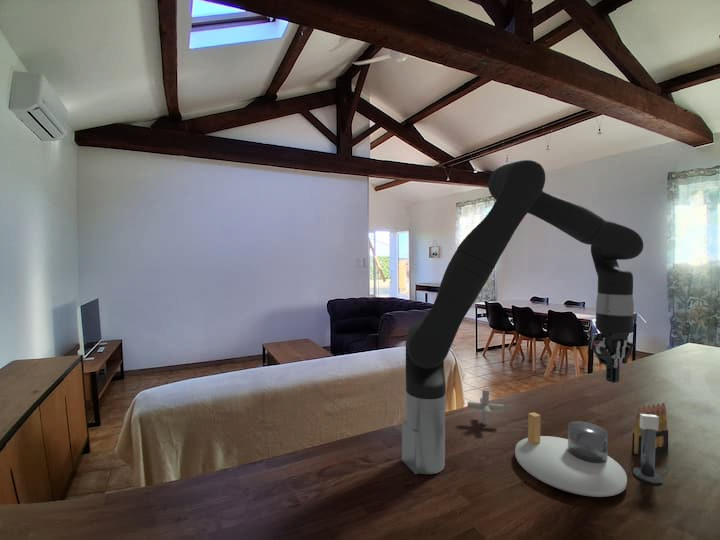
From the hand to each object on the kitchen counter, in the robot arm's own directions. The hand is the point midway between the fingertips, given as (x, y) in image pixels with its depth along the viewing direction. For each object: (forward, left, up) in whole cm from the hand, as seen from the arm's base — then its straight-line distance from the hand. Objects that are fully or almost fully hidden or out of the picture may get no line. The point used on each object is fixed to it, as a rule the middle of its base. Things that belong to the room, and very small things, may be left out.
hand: (612, 381), depth 86 cm
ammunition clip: (+11, -3, -19) cm, 22 cm away
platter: (-16, 0, -17) cm, 23 cm away
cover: (-9, 0, -16) cm, 19 cm away
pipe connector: (-17, +25, -19) cm, 36 cm away
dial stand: (-2, -9, -19) cm, 21 cm away
